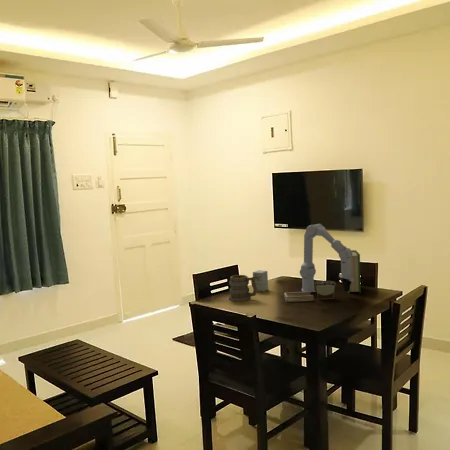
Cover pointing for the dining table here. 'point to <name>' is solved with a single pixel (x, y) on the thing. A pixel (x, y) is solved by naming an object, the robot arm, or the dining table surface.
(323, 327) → the dining table surface
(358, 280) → the hardback book
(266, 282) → the supplement box
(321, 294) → the food container
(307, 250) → the robot arm
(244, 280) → the tankard
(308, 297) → the open u-shaped wooden frame
